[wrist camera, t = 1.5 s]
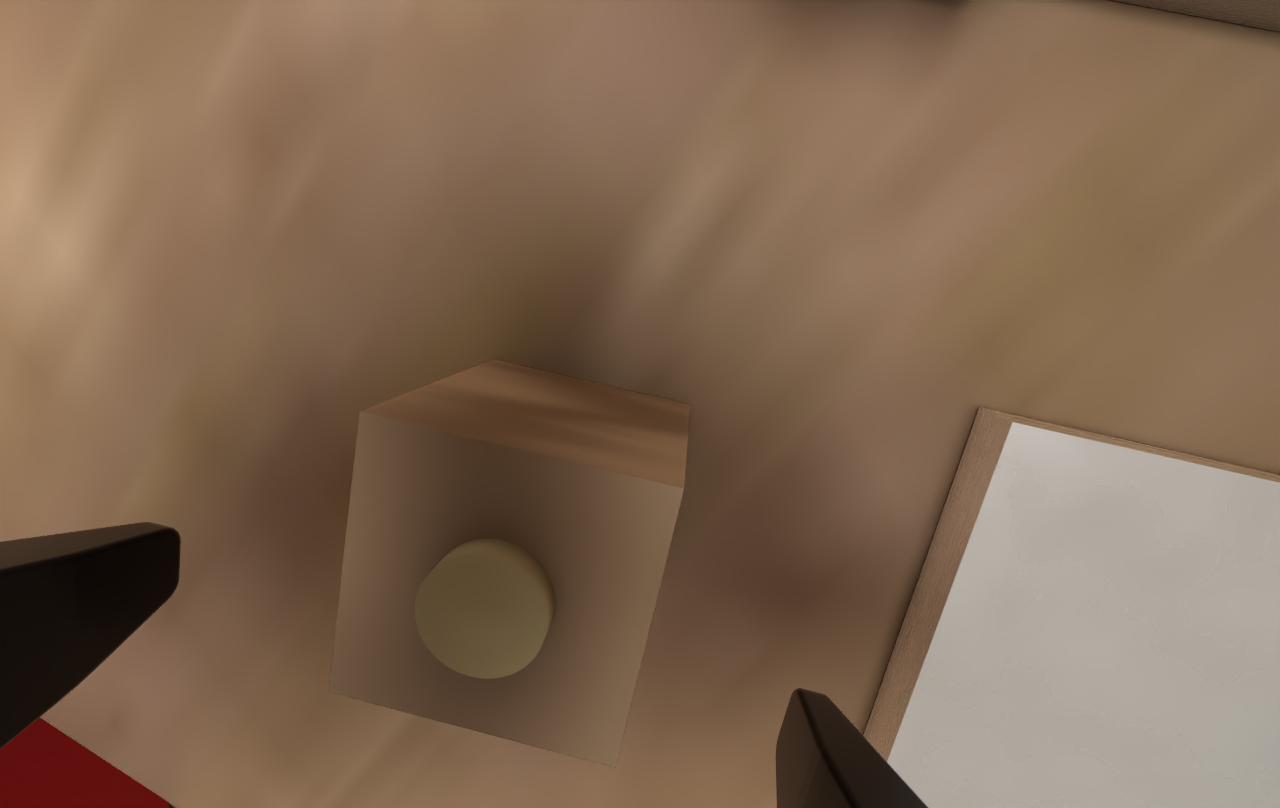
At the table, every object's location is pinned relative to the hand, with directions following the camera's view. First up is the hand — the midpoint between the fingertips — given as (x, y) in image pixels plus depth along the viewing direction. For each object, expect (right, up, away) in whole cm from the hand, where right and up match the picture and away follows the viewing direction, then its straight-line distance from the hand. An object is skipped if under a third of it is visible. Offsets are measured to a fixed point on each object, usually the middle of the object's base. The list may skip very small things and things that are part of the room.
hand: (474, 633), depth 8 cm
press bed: (+15, -4, +6) cm, 17 cm away
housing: (+1, +1, +7) cm, 7 cm away
